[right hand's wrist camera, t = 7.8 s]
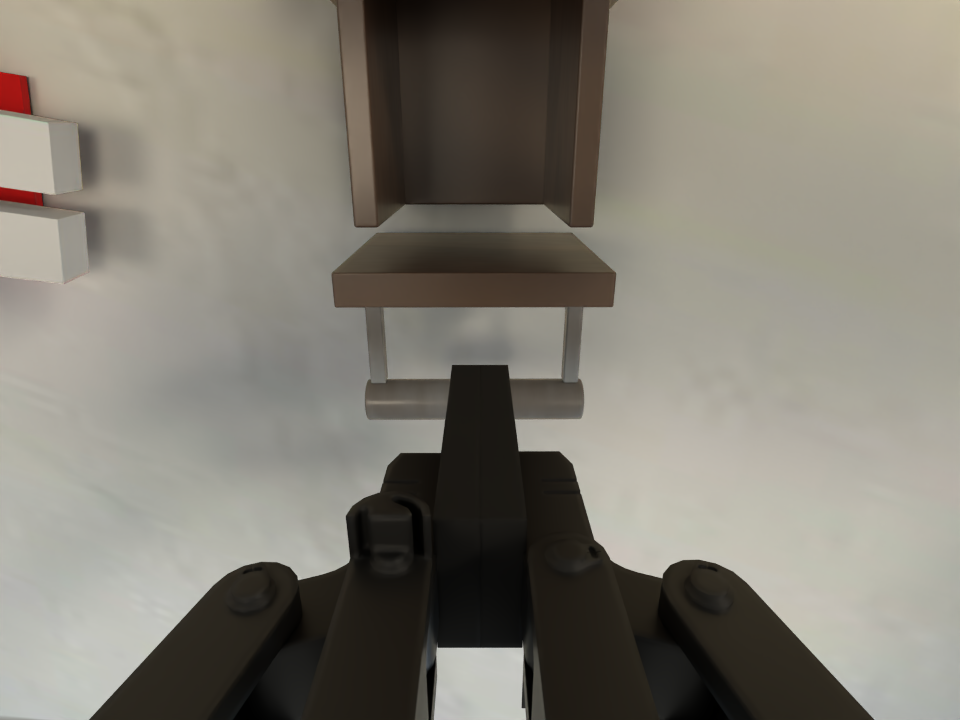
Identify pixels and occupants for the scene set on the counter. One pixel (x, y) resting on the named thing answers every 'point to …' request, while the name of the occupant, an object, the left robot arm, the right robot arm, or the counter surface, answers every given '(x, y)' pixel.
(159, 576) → the counter surface
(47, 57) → the counter surface
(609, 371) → the counter surface
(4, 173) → the toy
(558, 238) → the drawer
